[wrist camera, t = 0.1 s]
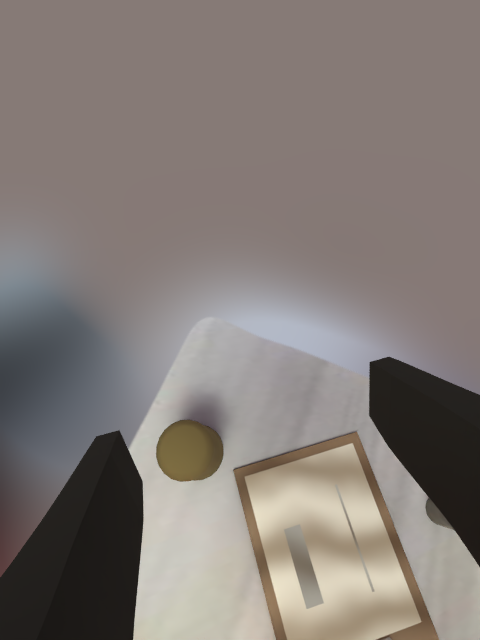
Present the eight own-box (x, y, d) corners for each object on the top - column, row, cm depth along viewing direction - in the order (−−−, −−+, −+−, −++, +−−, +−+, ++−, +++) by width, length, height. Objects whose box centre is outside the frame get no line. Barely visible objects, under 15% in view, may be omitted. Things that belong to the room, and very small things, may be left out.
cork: (207, 414, 41) (196, 400, 31) (233, 461, 39) (230, 462, 29) (162, 442, 40) (135, 436, 29) (186, 491, 38) (166, 503, 27)
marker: (458, 521, 36) (513, 537, 29) (433, 530, 36) (482, 548, 29) (444, 491, 38) (494, 499, 30) (419, 499, 37) (464, 509, 30)
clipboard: (438, 641, 33) (445, 647, 32) (291, 698, 31) (293, 707, 30) (355, 432, 40) (359, 431, 39) (233, 470, 38) (233, 470, 37)
